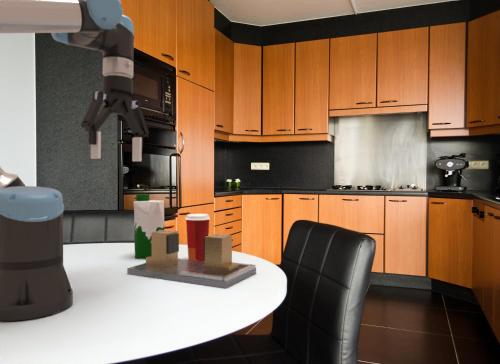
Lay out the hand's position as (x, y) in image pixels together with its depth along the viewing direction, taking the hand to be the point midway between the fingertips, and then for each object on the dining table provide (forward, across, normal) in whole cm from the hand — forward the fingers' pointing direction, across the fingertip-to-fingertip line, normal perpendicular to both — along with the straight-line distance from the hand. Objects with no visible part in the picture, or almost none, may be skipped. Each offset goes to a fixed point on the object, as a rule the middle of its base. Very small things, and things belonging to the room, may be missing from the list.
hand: (117, 160), depth 102 cm
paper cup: (+30, +26, -6) cm, 40 cm away
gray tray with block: (+30, +12, -16) cm, 35 cm away
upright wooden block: (+28, +12, -24) cm, 39 cm away
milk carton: (+30, +23, +10) cm, 39 cm away
